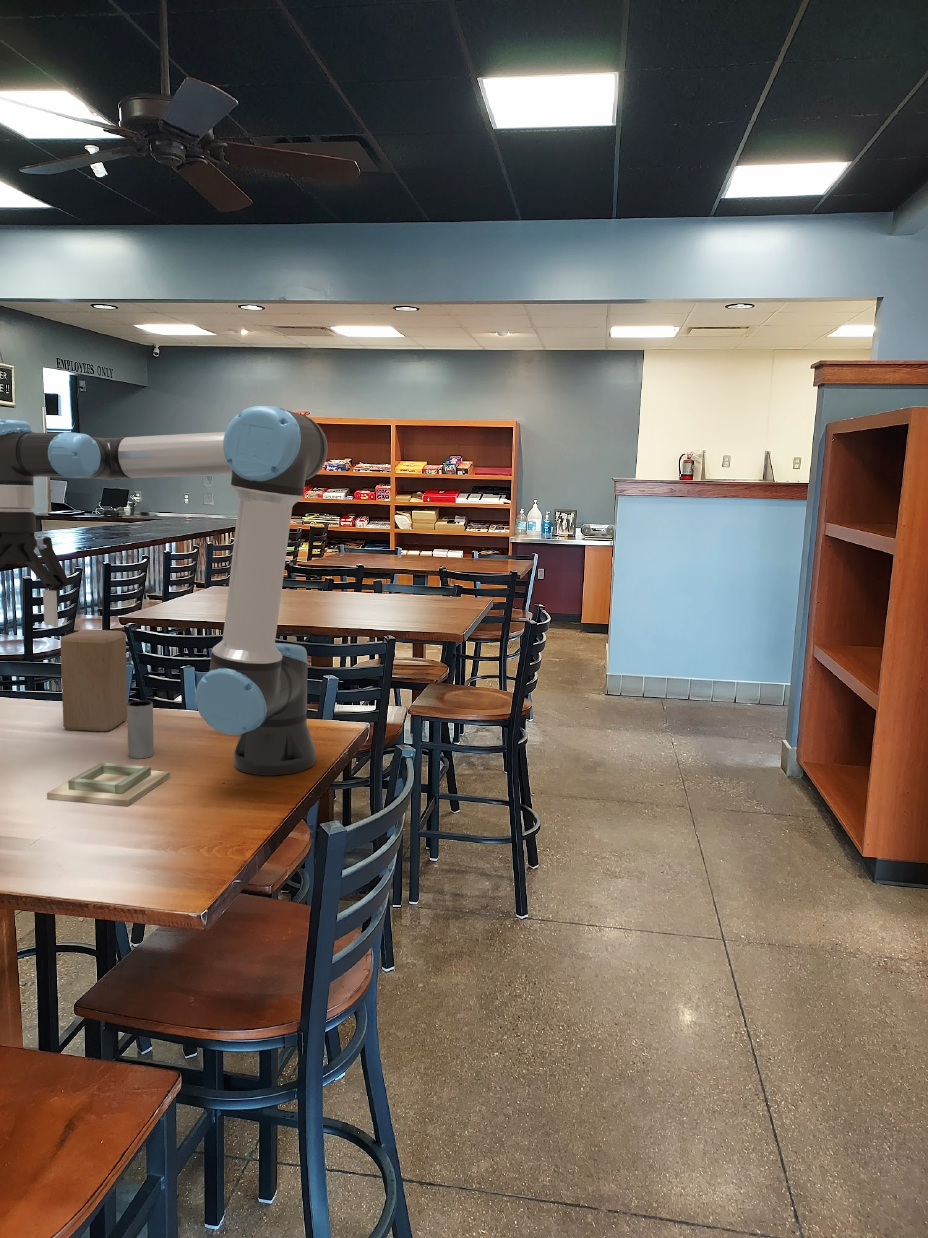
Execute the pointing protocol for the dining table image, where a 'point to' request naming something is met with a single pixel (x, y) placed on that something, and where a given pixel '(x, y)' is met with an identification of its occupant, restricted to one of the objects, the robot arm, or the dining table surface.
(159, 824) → the dining table surface
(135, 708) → the grey hollow tube
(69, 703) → the block
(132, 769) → the stand
